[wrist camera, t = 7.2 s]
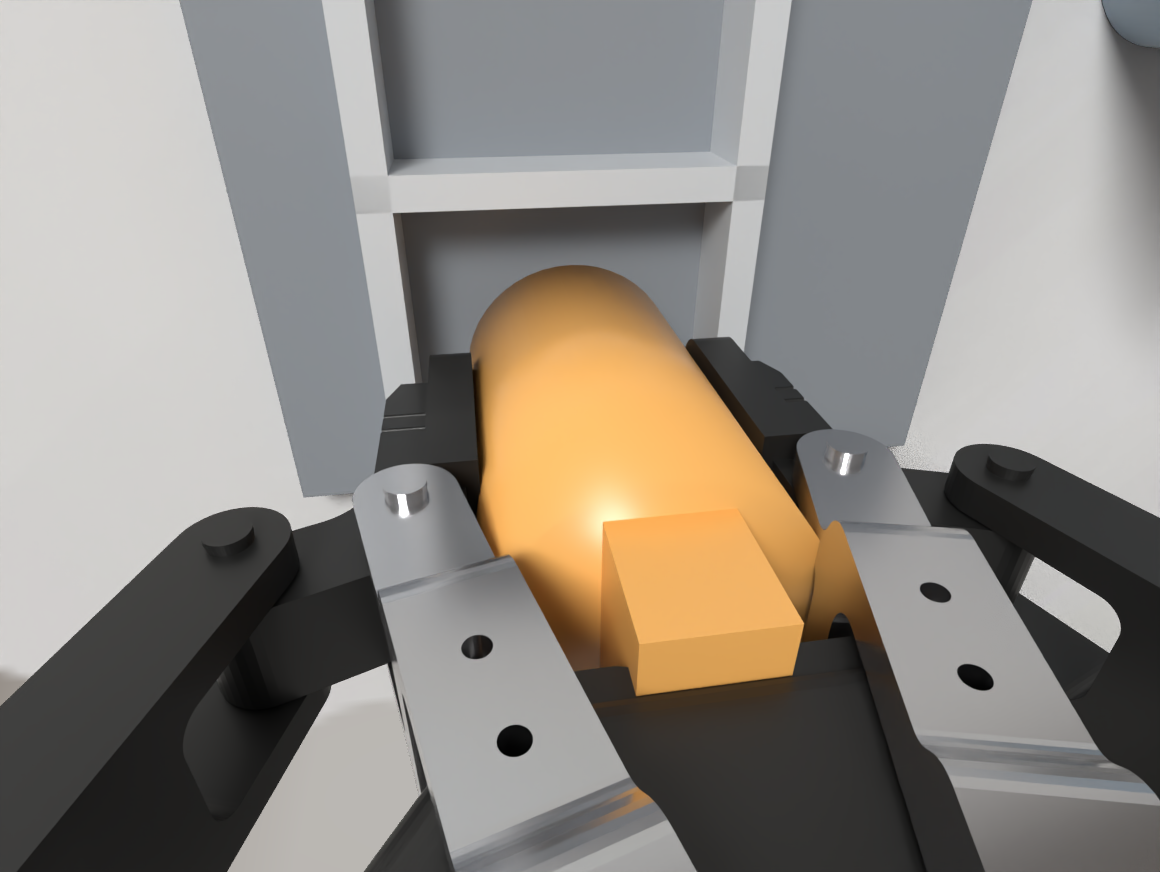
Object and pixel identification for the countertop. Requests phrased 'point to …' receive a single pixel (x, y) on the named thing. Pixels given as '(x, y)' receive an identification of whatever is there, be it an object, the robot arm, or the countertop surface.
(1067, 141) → the countertop surface
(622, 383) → the orange bottle
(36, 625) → the countertop surface
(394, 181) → the housing
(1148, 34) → the light blue bottle
